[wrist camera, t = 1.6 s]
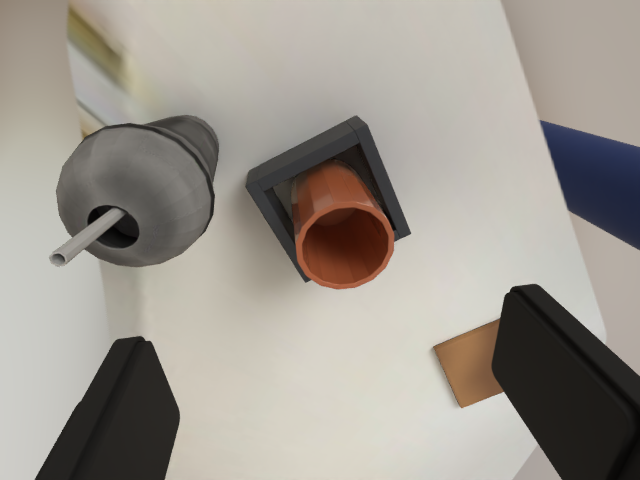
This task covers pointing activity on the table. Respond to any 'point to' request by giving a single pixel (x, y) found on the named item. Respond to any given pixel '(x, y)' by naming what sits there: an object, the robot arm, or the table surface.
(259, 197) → the cup holder
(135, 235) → the beverage cup
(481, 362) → the cork mat
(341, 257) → the tumbler
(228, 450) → the table surface
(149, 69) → the table surface
